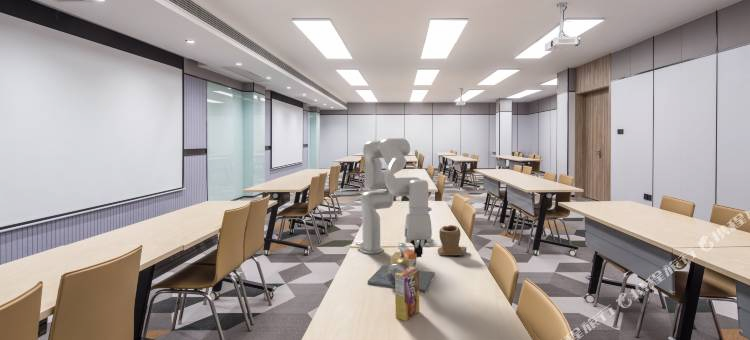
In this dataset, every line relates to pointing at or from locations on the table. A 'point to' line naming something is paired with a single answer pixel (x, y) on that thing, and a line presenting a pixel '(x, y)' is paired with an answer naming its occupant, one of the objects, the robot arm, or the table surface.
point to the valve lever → (407, 251)
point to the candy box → (407, 293)
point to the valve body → (397, 264)
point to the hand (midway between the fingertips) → (418, 256)
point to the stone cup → (450, 241)
